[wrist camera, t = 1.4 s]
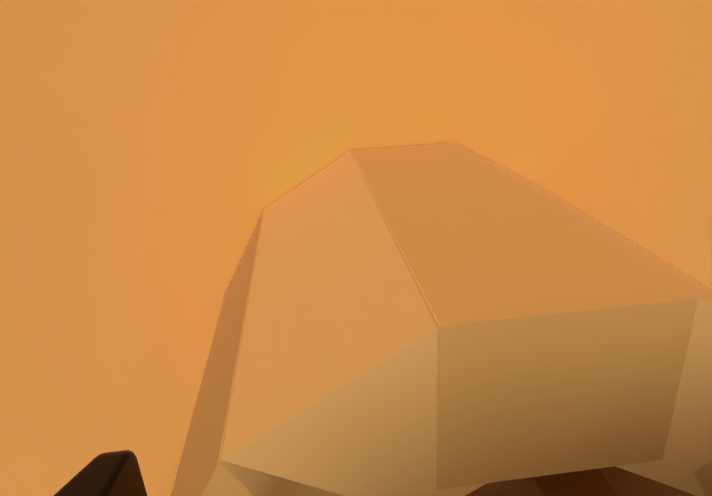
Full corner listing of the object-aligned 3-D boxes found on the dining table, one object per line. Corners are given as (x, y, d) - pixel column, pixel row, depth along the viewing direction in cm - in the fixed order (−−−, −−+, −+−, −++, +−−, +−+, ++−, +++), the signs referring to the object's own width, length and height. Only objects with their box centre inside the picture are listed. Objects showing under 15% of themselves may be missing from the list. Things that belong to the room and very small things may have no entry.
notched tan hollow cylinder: (593, 131, 9) (1016, 263, 4) (557, 434, 12) (778, 767, 7) (201, 161, 9) (46, 367, 3) (254, 472, 12) (218, 871, 6)
